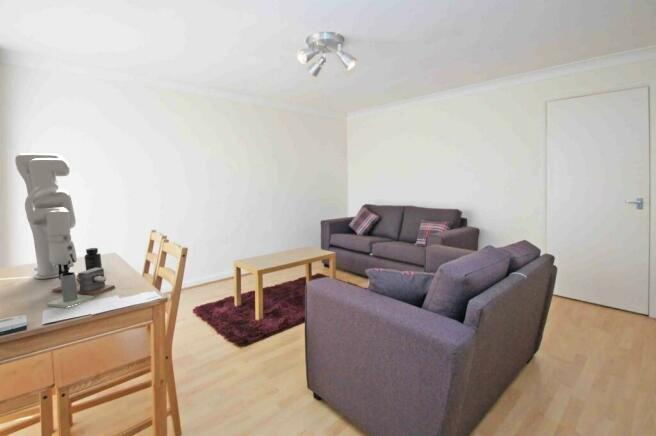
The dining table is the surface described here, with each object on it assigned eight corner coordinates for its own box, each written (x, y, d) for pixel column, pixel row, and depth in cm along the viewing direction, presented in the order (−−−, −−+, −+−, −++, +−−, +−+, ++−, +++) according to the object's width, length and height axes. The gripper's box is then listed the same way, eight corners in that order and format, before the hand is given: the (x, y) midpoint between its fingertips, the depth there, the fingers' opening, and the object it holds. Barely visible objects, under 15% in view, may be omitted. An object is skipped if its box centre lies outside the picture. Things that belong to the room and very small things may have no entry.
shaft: (77, 285, 139) (75, 273, 139) (88, 281, 144) (87, 270, 143) (99, 287, 137) (97, 275, 136) (109, 283, 141) (108, 272, 141)
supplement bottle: (105, 270, 171) (103, 247, 170) (92, 274, 165) (89, 250, 163) (96, 269, 173) (93, 246, 172) (82, 272, 167) (80, 249, 165)
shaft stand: (52, 291, 140) (49, 271, 139) (75, 284, 149) (73, 265, 148) (93, 296, 135) (91, 274, 133) (114, 287, 144) (112, 268, 143)
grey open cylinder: (67, 297, 131) (64, 272, 129) (80, 296, 131) (77, 271, 130) (60, 301, 126) (57, 276, 125) (73, 301, 127) (70, 275, 125)
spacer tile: (47, 305, 125) (47, 303, 125) (73, 296, 135) (73, 293, 134) (68, 308, 123) (67, 305, 122) (93, 298, 132) (92, 295, 132)
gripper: (82, 237, 144) (86, 277, 147) (55, 235, 147) (60, 274, 150) (64, 241, 136) (69, 283, 139) (37, 238, 140) (42, 280, 143)
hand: (64, 278), depth 145 cm, fingers closed
